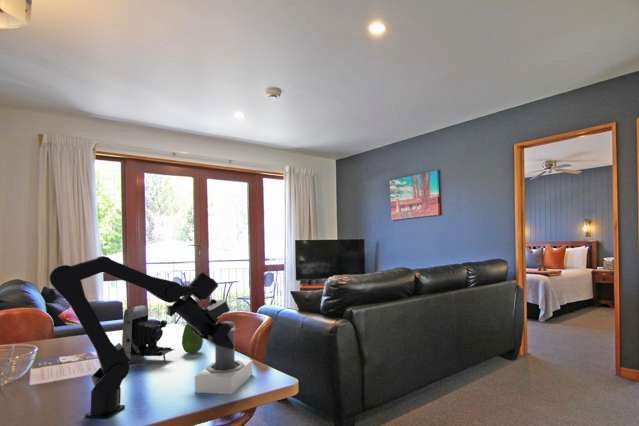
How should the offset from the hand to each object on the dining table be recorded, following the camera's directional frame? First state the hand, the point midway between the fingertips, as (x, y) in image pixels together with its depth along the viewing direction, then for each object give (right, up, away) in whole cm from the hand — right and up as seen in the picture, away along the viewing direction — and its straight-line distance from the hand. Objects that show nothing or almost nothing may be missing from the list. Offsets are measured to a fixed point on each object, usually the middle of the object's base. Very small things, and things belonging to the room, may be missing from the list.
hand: (229, 346), depth 114 cm
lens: (-1, -7, -1) cm, 7 cm away
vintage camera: (-34, -14, +22) cm, 43 cm away
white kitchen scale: (-1, -10, -2) cm, 11 cm away
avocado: (-22, -14, +31) cm, 40 cm away
